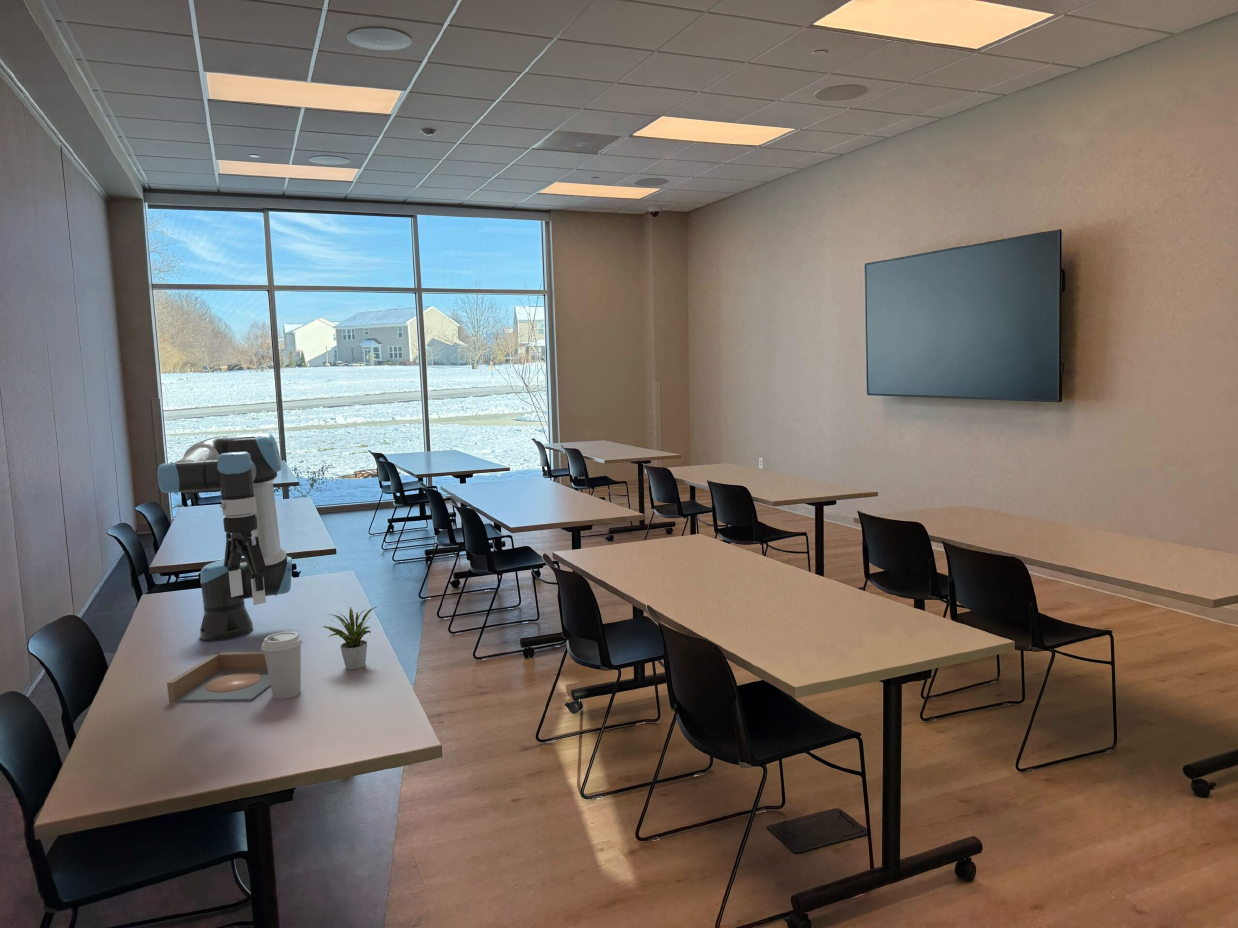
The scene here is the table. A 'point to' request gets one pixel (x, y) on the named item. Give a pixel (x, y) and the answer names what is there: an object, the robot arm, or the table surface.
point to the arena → (222, 679)
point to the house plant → (352, 640)
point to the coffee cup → (283, 663)
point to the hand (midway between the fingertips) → (248, 599)
